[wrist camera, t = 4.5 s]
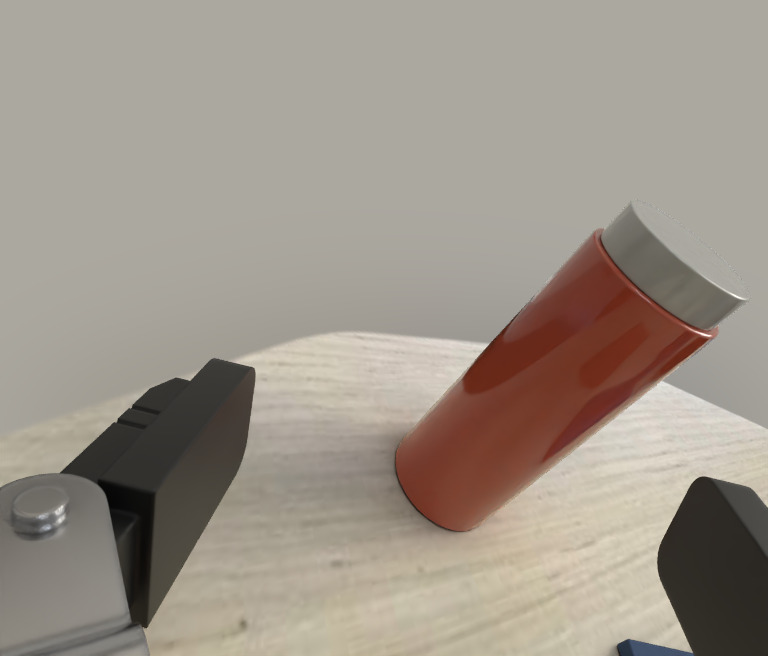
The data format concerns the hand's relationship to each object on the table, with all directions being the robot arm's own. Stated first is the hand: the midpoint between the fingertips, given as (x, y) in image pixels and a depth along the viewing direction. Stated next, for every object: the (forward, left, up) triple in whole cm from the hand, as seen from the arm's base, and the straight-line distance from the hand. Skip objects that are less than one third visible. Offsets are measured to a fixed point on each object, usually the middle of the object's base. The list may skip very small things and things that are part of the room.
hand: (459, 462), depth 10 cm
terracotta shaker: (+6, +7, -9) cm, 12 cm away
